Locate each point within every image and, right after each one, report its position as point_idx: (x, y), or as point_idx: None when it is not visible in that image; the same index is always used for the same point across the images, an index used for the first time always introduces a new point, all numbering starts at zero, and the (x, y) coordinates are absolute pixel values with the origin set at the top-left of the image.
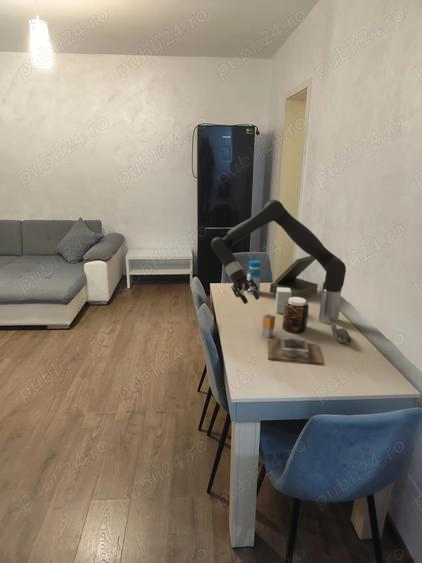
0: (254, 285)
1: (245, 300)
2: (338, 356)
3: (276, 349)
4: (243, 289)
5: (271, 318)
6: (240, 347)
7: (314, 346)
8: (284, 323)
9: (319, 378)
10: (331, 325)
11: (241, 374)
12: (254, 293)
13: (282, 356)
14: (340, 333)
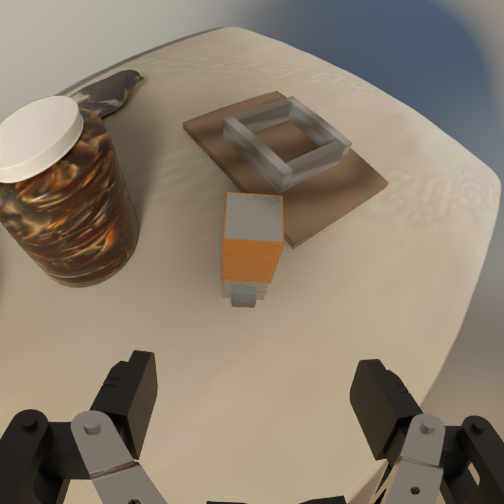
0: (27, 478)
1: (387, 378)
2: (204, 88)
3: (330, 185)
4: (417, 474)
5: (268, 196)
6: (417, 295)
7: (206, 122)
8: (120, 242)
9: (332, 91)
10: None
11: (475, 204)
12: (135, 426)
13: (347, 156)
14: (115, 84)
